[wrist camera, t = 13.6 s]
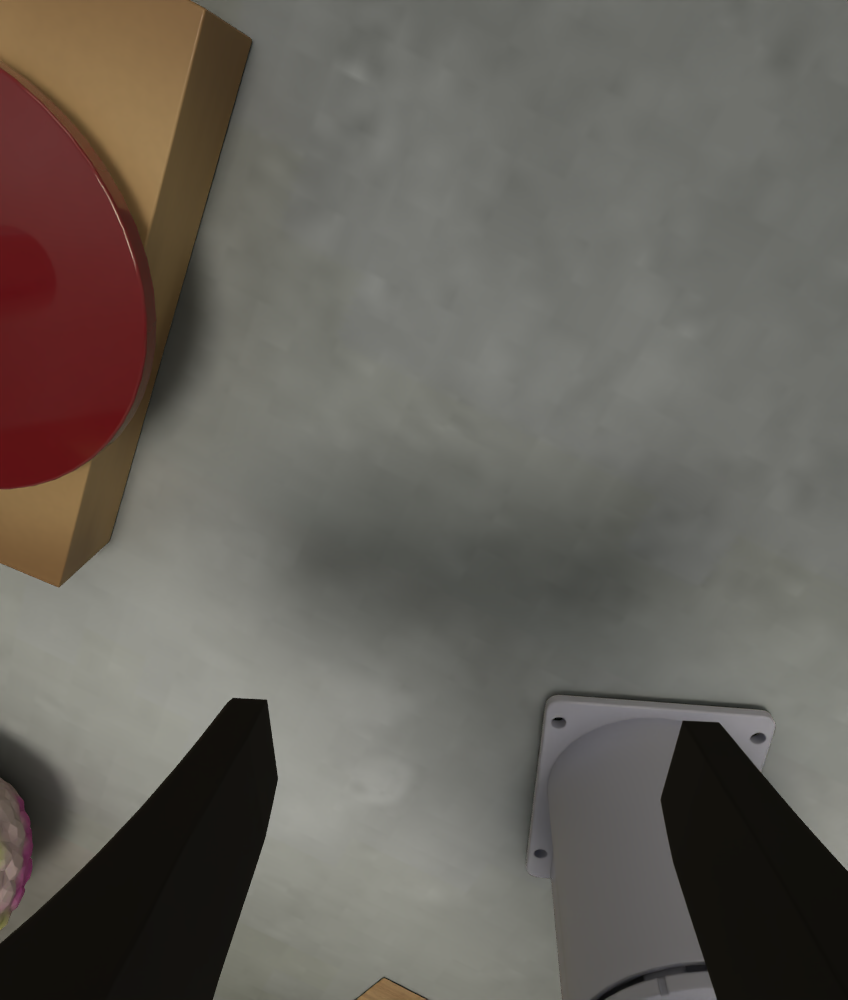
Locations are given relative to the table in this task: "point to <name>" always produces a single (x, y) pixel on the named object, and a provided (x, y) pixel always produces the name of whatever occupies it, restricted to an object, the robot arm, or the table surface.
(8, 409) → the lid
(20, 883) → the decorative item
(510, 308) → the table surface
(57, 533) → the wooden block
